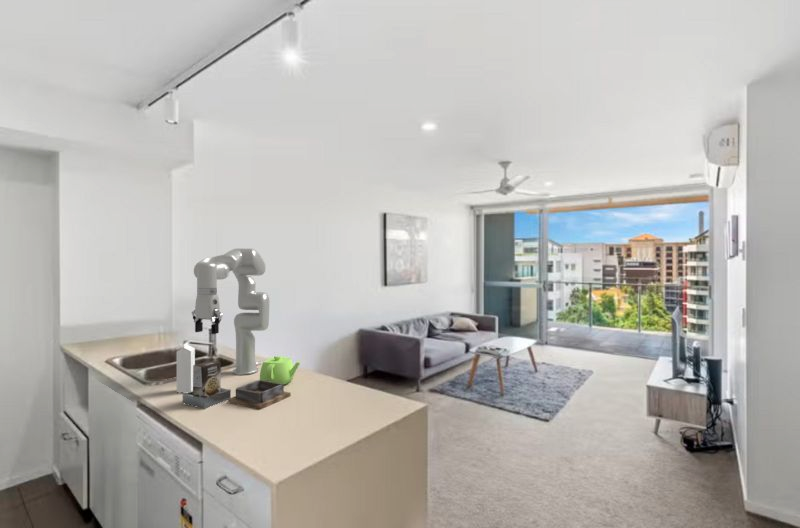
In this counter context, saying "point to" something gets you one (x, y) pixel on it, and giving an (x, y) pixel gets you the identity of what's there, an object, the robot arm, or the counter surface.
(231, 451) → the counter surface
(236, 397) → the dock
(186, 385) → the milk
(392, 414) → the counter surface
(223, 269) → the robot arm
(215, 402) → the grey square frame
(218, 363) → the coffee box
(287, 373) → the teapot
